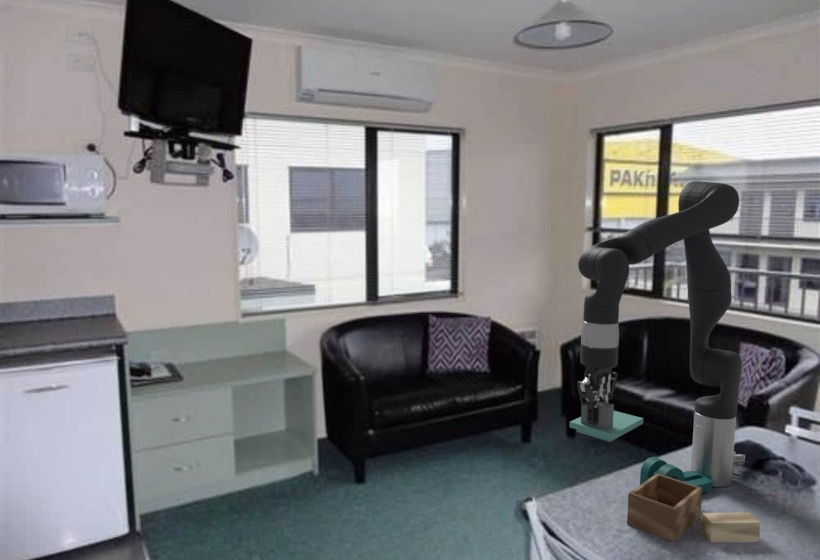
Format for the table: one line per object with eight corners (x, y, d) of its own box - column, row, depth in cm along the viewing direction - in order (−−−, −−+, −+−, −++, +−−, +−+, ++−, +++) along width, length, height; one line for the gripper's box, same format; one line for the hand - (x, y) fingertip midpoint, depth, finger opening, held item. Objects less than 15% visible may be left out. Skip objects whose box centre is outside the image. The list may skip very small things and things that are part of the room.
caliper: (728, 477, 153) (730, 453, 152) (724, 475, 153) (726, 452, 153) (768, 458, 164) (770, 436, 163) (764, 457, 165) (766, 435, 164)
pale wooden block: (700, 533, 126) (702, 513, 126) (747, 532, 127) (748, 512, 126) (710, 543, 122) (712, 523, 122) (758, 543, 123) (760, 522, 122)
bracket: (660, 503, 138) (662, 470, 137) (639, 490, 144) (641, 459, 143) (718, 489, 145) (720, 458, 144) (695, 477, 151) (697, 447, 150)
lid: (600, 416, 140) (602, 386, 139) (642, 427, 133) (644, 396, 132) (569, 431, 130) (570, 399, 129) (612, 444, 123) (614, 410, 122)
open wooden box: (655, 501, 139) (657, 473, 138) (700, 517, 132) (702, 487, 131) (627, 523, 129) (628, 493, 129) (673, 542, 122) (675, 510, 121)
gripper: (599, 335, 134) (595, 410, 136) (566, 344, 124) (563, 425, 126) (631, 340, 128) (627, 418, 130) (599, 351, 118) (595, 435, 121)
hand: (595, 421), depth 128 cm, fingers closed on lid, 2 cm apart
